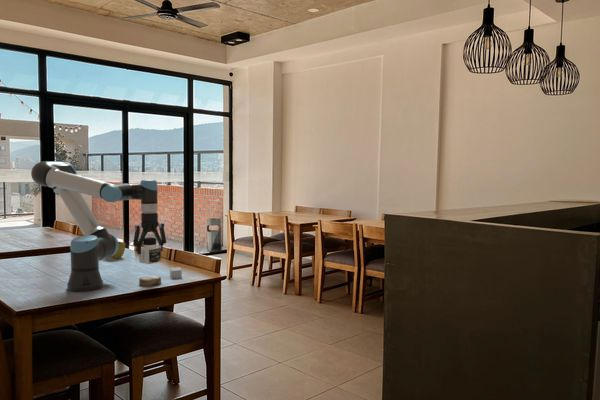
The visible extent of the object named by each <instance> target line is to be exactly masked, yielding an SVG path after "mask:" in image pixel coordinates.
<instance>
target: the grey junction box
mask: <svg viewBox="0 0 600 400" xmlns="http://www.w3.org/2000/svg"><path fill="white" fill-rule="evenodd" d="M169 276H170V279H179V278H183V277H182V268H181V267H180V266H179V267H170V268H169Z"/></svg>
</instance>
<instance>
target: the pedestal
mask: <svg viewBox="0 0 600 400" xmlns="http://www.w3.org/2000/svg"><path fill="white" fill-rule="evenodd" d="M138 279H139V281H138V283H139V285H140V287H141V286H142V287H154V286H155V287H156V286H159V285H161V284H162V277H161V276H158V275H146V276H142V277H140V278H138Z"/></svg>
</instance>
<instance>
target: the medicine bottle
mask: <svg viewBox="0 0 600 400" xmlns="http://www.w3.org/2000/svg"><path fill="white" fill-rule="evenodd" d="M157 243H158V241H157V239H156V237H155V236H147V237H146V236H145V239H144V241H143V243H142V247H143V261H140V260H139V264H140V263H141V264H145V265H152V264H156V263H160V262H161V261H162V251H161V247H157V245H158V244H157Z"/></svg>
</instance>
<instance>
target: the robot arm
mask: <svg viewBox="0 0 600 400" xmlns="http://www.w3.org/2000/svg"><path fill="white" fill-rule="evenodd" d="M30 173H31V179H32V180H33V181H34V183H35V184H37V185H39V186H41V187H46V188H47V187H48V188H51V189H52V190H53V191H52V192H53V193H55V194H59V196H60V198H61V200H62V201H63V203H64V204H65V206H66V207H67V209H68V212H69V213H70V215H71V217H72V218H73V220H74V221H75V223H76V225H77V226H78V228H79V229H80V232H81V233H82V234H83V235H80V236H77V237H74V238H72V240H70V247H69V250H70V275H69V277H68V282H67V284H66V286H67V287H66V288H67V289H66V290H68V291H70V292H89V291H95V290H98V289H102V288H103V287H104V280H103V278H102V276H101V272H100V268H99V267H100V263H99V262H100V261H103V260H106V259H107V260H108V259H109V258H110V257H111V256H113V255H114V254H115V253H116V252H117V250H118V246H119V244H118V242H119V240H118V238H117V237H116V236H115V235H114V234H112V233H109V232H108V230H107V228H106V227H103V226H101V225H100V223H99V221H98V219H97V218H96V216H95V215H94V213H93V211H92V209H91V208H90V207H89V204H88V203H87V201H86V199H85V198H84V197H83V194H84V195H87V196H91V197H95V198H99V199H102V200H103V201H105V202H108V203H116V202H121V201H122V202H123V201H129V200H134V201H135V200H139V201H140V212H141V214H140V217H141V219H140V220H141V223H140V224H136V225H135V224H134V229H135V230H134V237H133V243H132V246H134V247H136V254H137V255H138V256H139V257H138V260H139V262H140V261H143V247H144V246H143V241H144V239H145V238H146V236H147V234H148V233H150V232H151V233H153V235H154V237H155V238H156V239H157V243H158V244H157V246H156V247H161V252H163V247H164V244H166V243H167V239H166V238H167V237H166V233H165V223H162V222H159V221H158V220H159V214H158V211H159V209H158V206H159V205H158V203H159V202H158V181H157V180H155V179H141V180H140V183H127V182H126V183H118V184H114V183H111V182H106V181H102V180H99V179H94V178H91V177H86V176H83V175H78V173H77V170H76V168H75V166H73V164H72V163H70V162H67V161H61V160H58V161H50V160H49V161H48V160H45V161H44V160H43V161H40V162H37V163H36V164H34V166H33V167H32V168H31V170H30ZM141 229H142V230H141ZM158 229H159V232H158ZM140 232H141V234H140ZM159 233H160V234H159ZM110 259H111V258H110Z"/></svg>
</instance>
